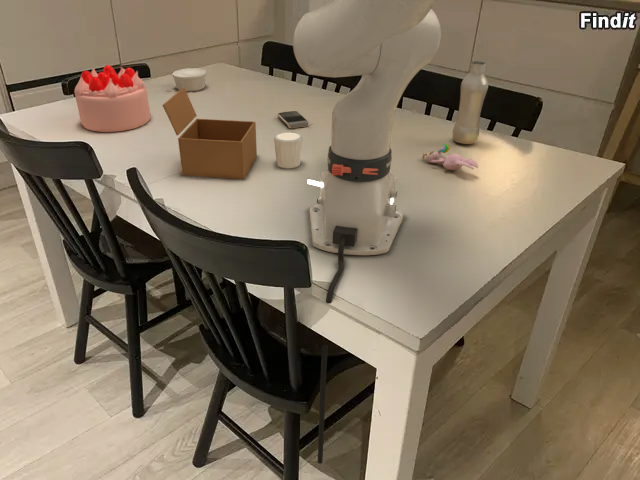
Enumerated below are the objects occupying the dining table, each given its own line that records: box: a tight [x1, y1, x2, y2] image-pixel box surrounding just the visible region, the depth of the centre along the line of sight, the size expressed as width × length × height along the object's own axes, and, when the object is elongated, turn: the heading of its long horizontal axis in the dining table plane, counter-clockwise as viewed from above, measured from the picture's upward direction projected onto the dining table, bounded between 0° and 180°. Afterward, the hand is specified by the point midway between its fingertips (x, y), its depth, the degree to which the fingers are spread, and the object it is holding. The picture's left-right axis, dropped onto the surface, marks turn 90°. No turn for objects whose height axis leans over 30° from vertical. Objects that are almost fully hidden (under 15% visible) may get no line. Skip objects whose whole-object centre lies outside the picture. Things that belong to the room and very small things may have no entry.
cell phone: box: [277, 110, 309, 130], centre depth 161 cm, size 6×11×1 cm, turn 18°
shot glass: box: [273, 131, 303, 169], centre depth 134 cm, size 7×7×7 cm
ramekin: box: [172, 67, 207, 93], centre depth 189 cm, size 11×11×5 cm
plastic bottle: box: [452, 60, 489, 145], centre depth 141 cm, size 6×7×20 cm
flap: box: [162, 87, 198, 136], centre depth 130 cm, size 14×7×1 cm
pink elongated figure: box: [421, 143, 479, 171], centre depth 131 cm, size 6×6×15 cm
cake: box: [74, 64, 151, 133], centre depth 159 cm, size 20×20×14 cm
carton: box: [177, 118, 258, 180], centre depth 133 cm, size 14×15×9 cm
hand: (318, 35), depth 121 cm, fingers open, 8 cm apart
